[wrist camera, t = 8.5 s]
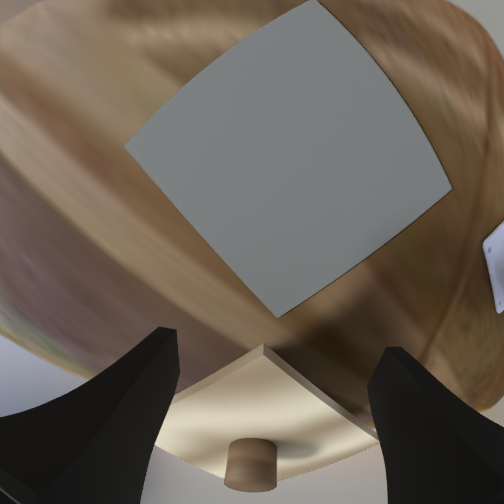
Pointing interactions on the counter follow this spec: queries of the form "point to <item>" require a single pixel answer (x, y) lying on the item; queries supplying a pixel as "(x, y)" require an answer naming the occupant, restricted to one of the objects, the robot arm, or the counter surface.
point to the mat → (292, 156)
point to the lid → (260, 424)
